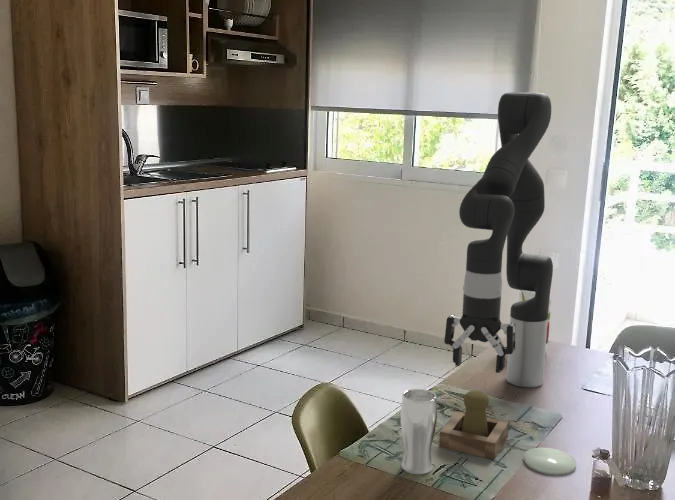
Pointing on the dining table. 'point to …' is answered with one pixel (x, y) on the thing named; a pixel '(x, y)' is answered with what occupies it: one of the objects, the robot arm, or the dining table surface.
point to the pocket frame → (474, 437)
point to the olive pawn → (475, 413)
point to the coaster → (549, 461)
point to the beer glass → (418, 429)
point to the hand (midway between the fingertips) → (478, 368)
